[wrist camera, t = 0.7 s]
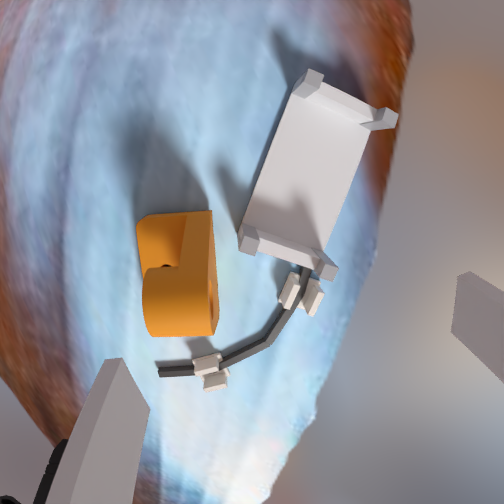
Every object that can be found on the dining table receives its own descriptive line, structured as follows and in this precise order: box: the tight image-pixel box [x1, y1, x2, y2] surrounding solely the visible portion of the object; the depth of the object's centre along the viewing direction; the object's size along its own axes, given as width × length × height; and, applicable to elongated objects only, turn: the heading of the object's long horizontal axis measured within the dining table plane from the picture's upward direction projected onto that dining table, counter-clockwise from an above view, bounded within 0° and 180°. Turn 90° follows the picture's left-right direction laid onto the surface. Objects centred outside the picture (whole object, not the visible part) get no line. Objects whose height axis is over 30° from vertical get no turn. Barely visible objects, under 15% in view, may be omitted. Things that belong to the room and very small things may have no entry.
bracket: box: [136, 210, 219, 337], centre depth 26 cm, size 11×7×12 cm, turn 1°
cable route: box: [158, 266, 324, 392], centre depth 34 cm, size 6×23×3 cm, turn 129°
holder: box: [237, 68, 398, 282], centre depth 27 cm, size 9×17×6 cm, turn 159°
